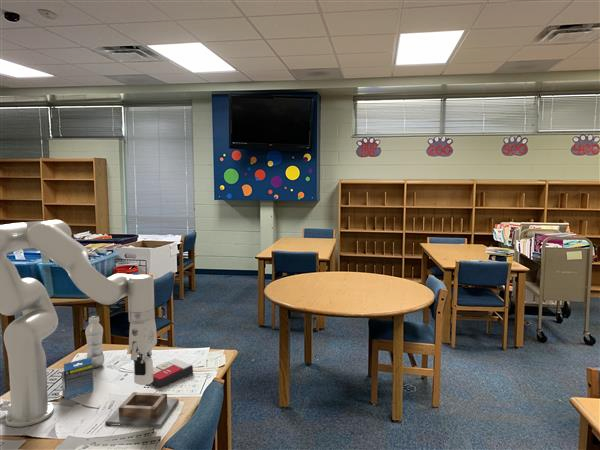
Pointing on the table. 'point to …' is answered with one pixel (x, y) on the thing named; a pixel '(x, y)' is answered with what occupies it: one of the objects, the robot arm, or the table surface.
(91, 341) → the plastic bottle
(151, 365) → the eye dropper bottle
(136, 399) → the stand
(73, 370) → the label tape cartridge
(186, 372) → the red and grey box
